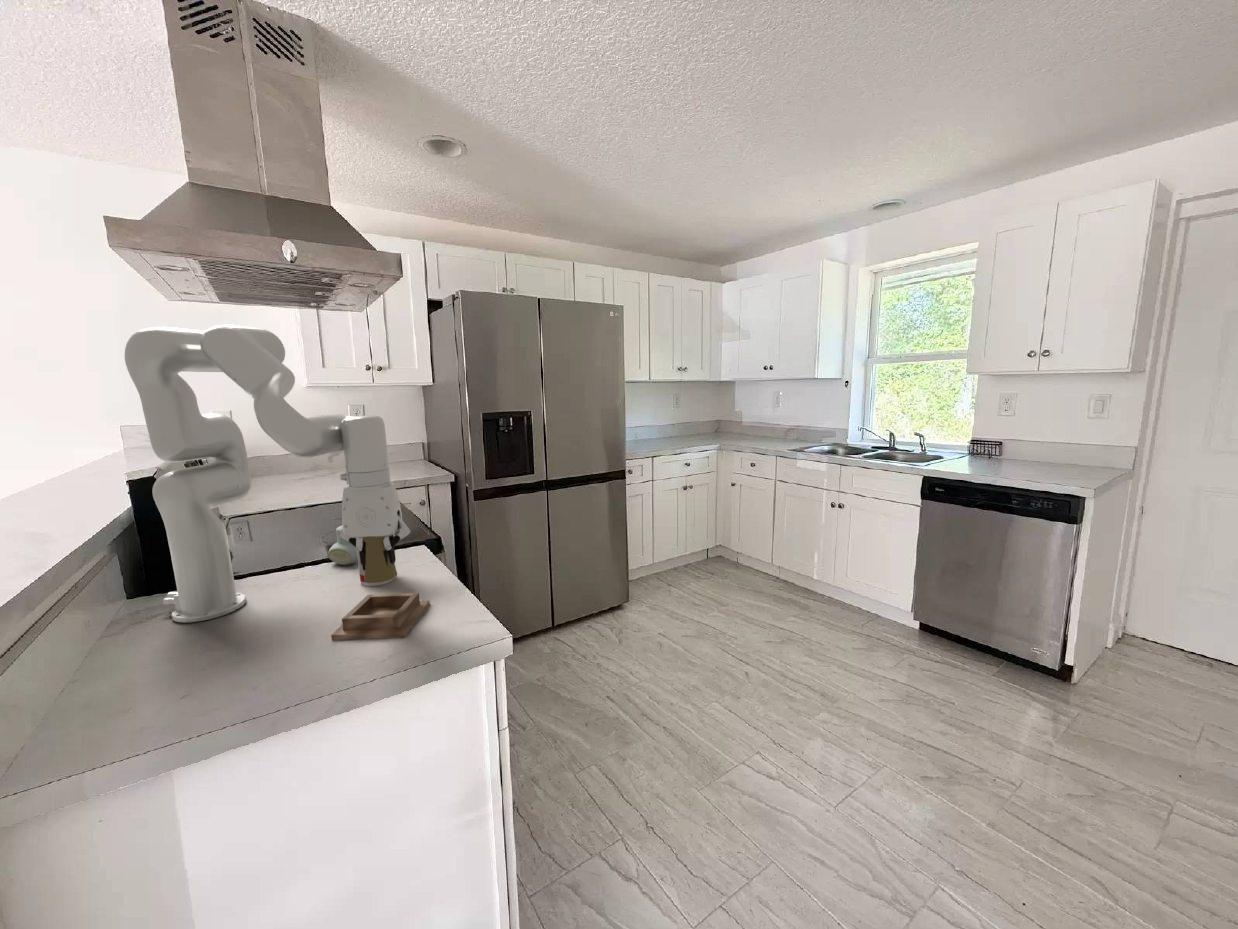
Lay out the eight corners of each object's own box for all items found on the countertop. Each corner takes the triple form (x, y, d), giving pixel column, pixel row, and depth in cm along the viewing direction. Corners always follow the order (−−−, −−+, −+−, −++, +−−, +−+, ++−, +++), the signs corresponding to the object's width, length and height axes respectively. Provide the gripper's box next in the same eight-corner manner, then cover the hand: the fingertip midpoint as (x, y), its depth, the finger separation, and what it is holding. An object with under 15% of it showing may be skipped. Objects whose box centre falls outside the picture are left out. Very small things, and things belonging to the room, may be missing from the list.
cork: (384, 583, 97) (378, 529, 95) (357, 581, 98) (351, 528, 96) (403, 572, 103) (398, 521, 101) (377, 570, 104) (372, 520, 102)
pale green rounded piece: (323, 565, 134) (319, 530, 132) (347, 554, 142) (343, 521, 140) (357, 568, 131) (353, 532, 130) (379, 557, 139) (375, 523, 138)
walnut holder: (331, 639, 95) (329, 623, 94) (365, 606, 109) (363, 591, 108) (405, 637, 95) (403, 620, 95) (429, 604, 109) (428, 589, 109)
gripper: (315, 484, 93) (327, 576, 96) (404, 481, 93) (413, 573, 97) (336, 476, 100) (346, 562, 103) (418, 473, 101) (426, 559, 104)
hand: (378, 566), depth 100 cm, fingers closed on cork, 3 cm apart
